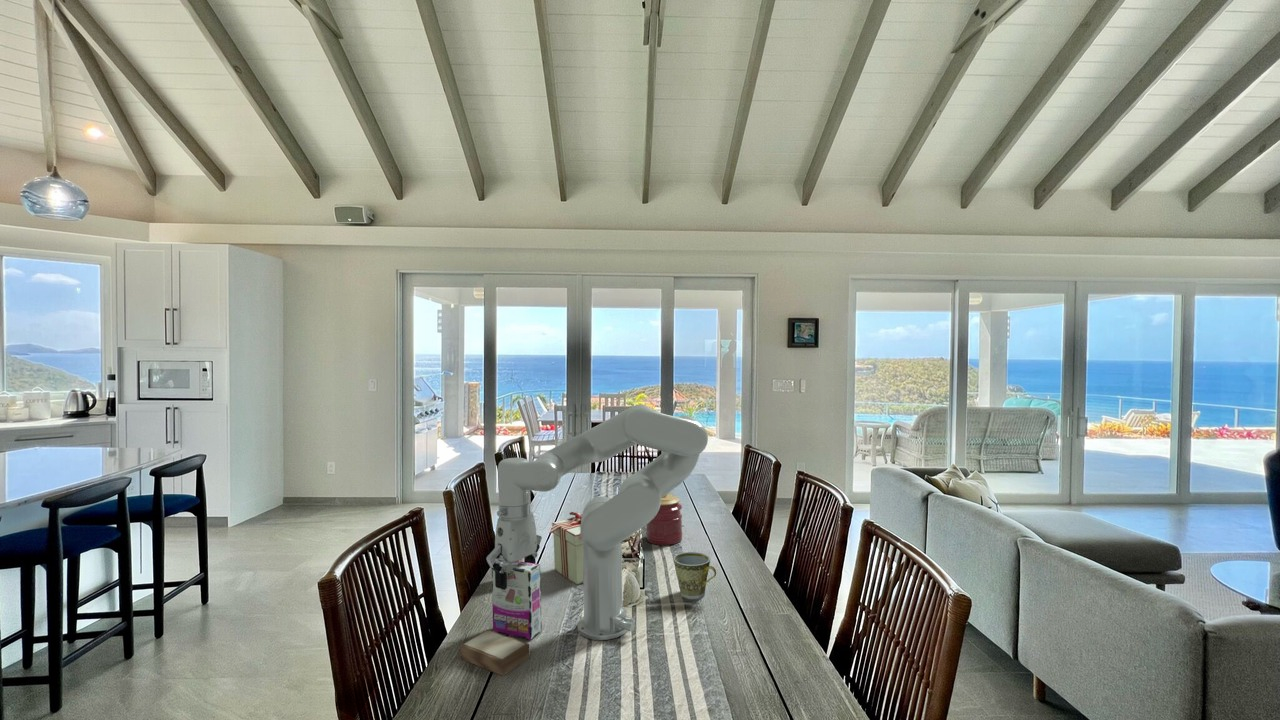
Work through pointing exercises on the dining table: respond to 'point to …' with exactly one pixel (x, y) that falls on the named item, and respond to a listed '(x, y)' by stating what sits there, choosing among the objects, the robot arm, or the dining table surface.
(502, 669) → the walnut plinth
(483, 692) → the dining table surface
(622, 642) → the dining table surface
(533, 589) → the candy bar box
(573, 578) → the gift box
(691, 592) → the ceramic cup
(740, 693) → the dining table surface
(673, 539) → the canister
